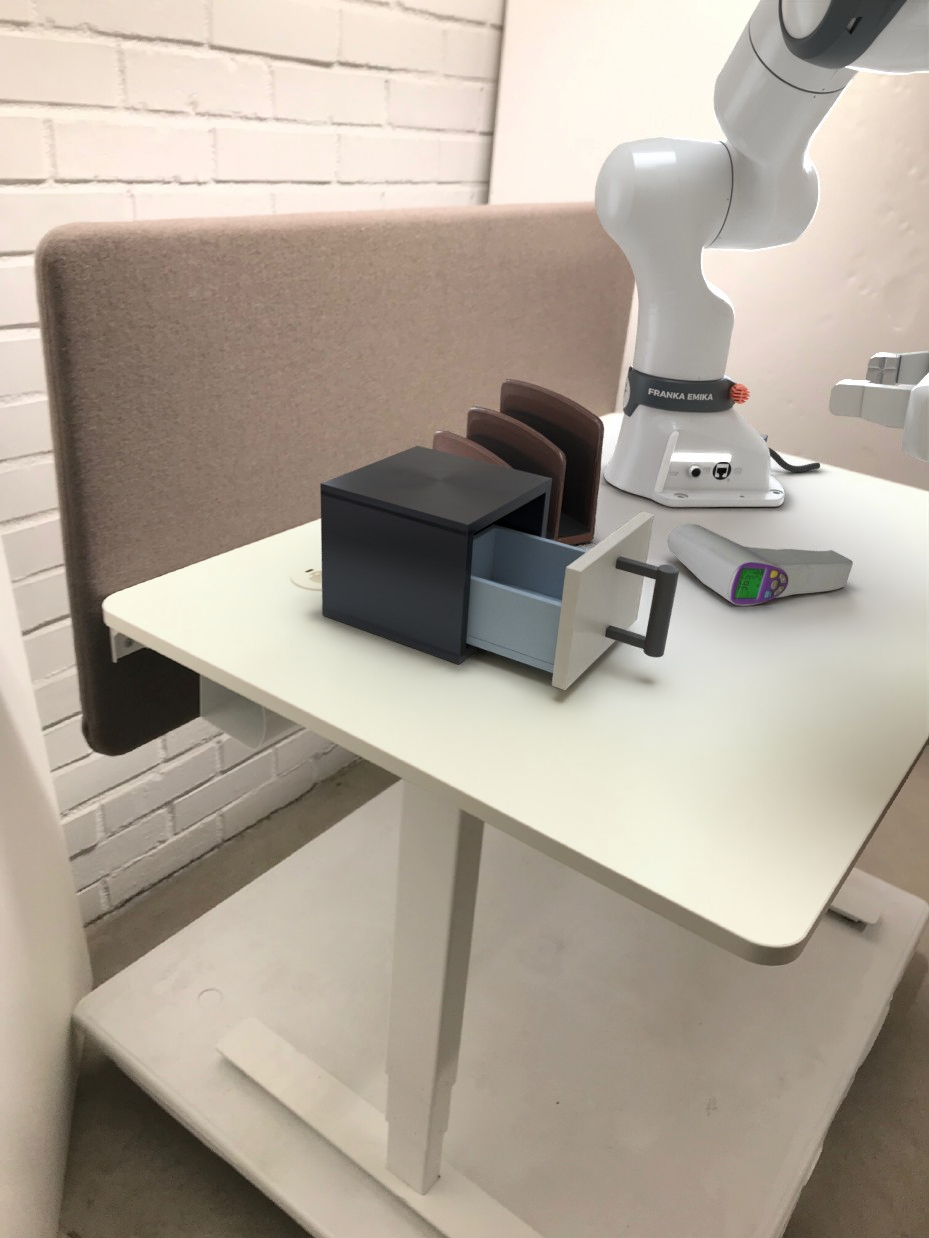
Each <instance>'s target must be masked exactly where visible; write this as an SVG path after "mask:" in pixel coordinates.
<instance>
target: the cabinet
mask: <svg viewBox="0 0 929 1238" xmlns="http://www.w3.org/2000/svg"><path fill="white" fill-rule="evenodd" d="M551 484H552V478H548V477H544V476H540V475H536V474H532V473H528V472H524V471H520V470H515V469H511V468H507V467H503V466H499V465H495V464H491V463H487V462H482V461H478V460H474V459H470V458H466V457H462V456H458V455H454V454H450V453H445V452H441V451H437V450H433V449H432V448H429V447H424V446H420V445H415V446H413V447H410V448H408V449H405V450H403V451H400V452H397V453H395V454H393V455H390V456H388V457H387V456H386V457H385V458H382V459H380V460H377V461H375V462H372V463H368V464H367V465H364V466H362V467H359V468H357V469H354V470H352V471H349V472H345V473H344V474H341V475H339V476H336V477H334V478H333V477H332V478H331V479H329V480H325V481H323V482H321V483H320V485H319V486H320V487H319V489H320V490H319V491H320V493H319V495H320V542H321V543H320V544H321V545H320V546H321V547H320V549H321V553H320V554H321V615H322V616H324V617H327V618H329V619H332V620H335V621H337V622H340V623H343V624H346V625H349V626H352V627H354V628H357V629H359V630H363V631H365V632H368V633H371V634H374V635H376V636H379V637H381V638H384V639H387V640H390V641H393V642H396V643H399V644H401V645H404V646H407V647H409V648H412V649H415V650H418V651H420V652H423V653H426V654H428V655H431V656H433V657H434V656H435V657H437V658H439V659H442V660H445V661H448V662H451V663H454V664H456V665H460V664H462V663H463V662H465V660H467V659H468V658H470V657H471V656H472V655H474V653H476V652H477V651H479V649H481V648H479V647H476V646H473V645H470V644H468V643H466V639H467V624H468V610H469V595H470V581H471V567H472V552H473V538H474V535H476V534H478V533H479V532H481V531H483V530H485V529H486V528H488V527H490V526H492V525H493V524H495V525H498V526H502V527H505V528H509V529H513V530H516V531H520V532H524V533H527V534H531V535H534V536H538V537H542V538H546V529H547V520H548V510H549V501H550V492H551Z"/></svg>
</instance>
